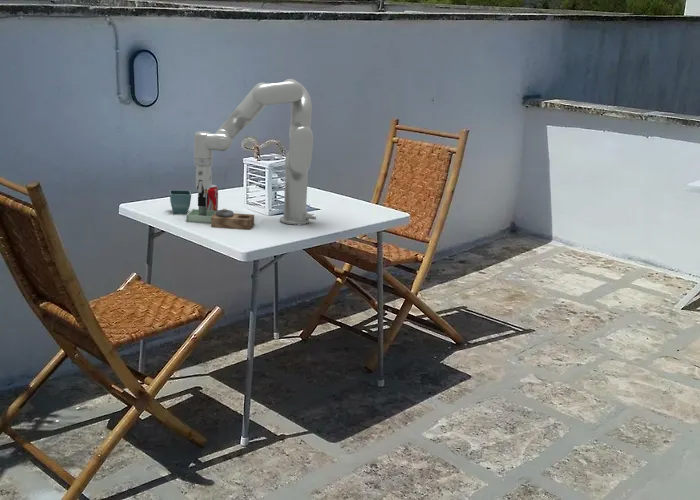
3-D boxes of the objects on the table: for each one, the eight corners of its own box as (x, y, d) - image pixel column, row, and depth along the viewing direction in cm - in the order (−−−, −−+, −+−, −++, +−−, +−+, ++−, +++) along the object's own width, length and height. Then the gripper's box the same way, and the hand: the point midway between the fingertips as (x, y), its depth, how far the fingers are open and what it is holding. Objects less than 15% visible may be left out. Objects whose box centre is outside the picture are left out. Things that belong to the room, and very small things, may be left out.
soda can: (214, 214, 347) (214, 187, 344) (198, 213, 348) (199, 186, 345) (220, 211, 354) (220, 184, 350) (205, 209, 355) (205, 183, 352)
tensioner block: (254, 224, 336) (254, 208, 334) (250, 229, 326) (250, 214, 324) (216, 221, 336) (216, 205, 335) (211, 227, 327) (211, 211, 325)
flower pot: (189, 210, 353) (189, 190, 350) (191, 214, 345) (191, 194, 342) (169, 210, 350) (169, 190, 348) (170, 214, 342) (170, 194, 340)
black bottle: (207, 215, 339) (208, 189, 336) (206, 217, 335) (206, 191, 332) (199, 214, 339) (199, 188, 336) (196, 216, 335) (197, 190, 332)
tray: (218, 217, 343) (218, 210, 342) (212, 223, 332) (212, 216, 331) (192, 215, 343) (192, 209, 342) (186, 221, 332) (186, 214, 332)
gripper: (208, 165, 323) (207, 210, 328) (216, 159, 339) (215, 201, 344) (189, 164, 323) (189, 208, 328) (198, 158, 339) (198, 200, 344)
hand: (202, 204), depth 336 cm, fingers closed on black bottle, 3 cm apart
